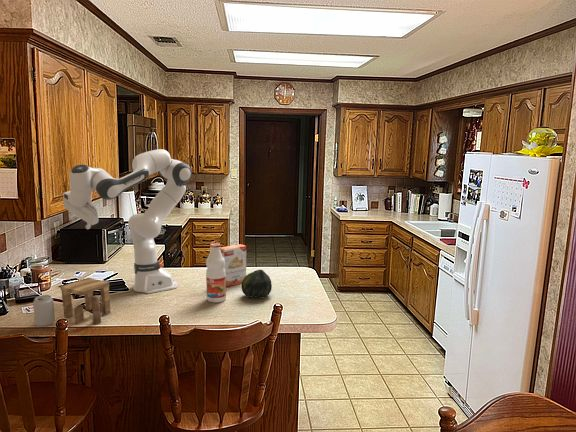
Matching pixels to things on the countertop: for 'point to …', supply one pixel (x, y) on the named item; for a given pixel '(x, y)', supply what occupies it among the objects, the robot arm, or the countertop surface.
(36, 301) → the can
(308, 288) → the countertop surface
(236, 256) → the cracker box
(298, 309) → the countertop surface
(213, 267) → the fruit juice
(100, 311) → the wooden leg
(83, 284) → the stool
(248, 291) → the squash
